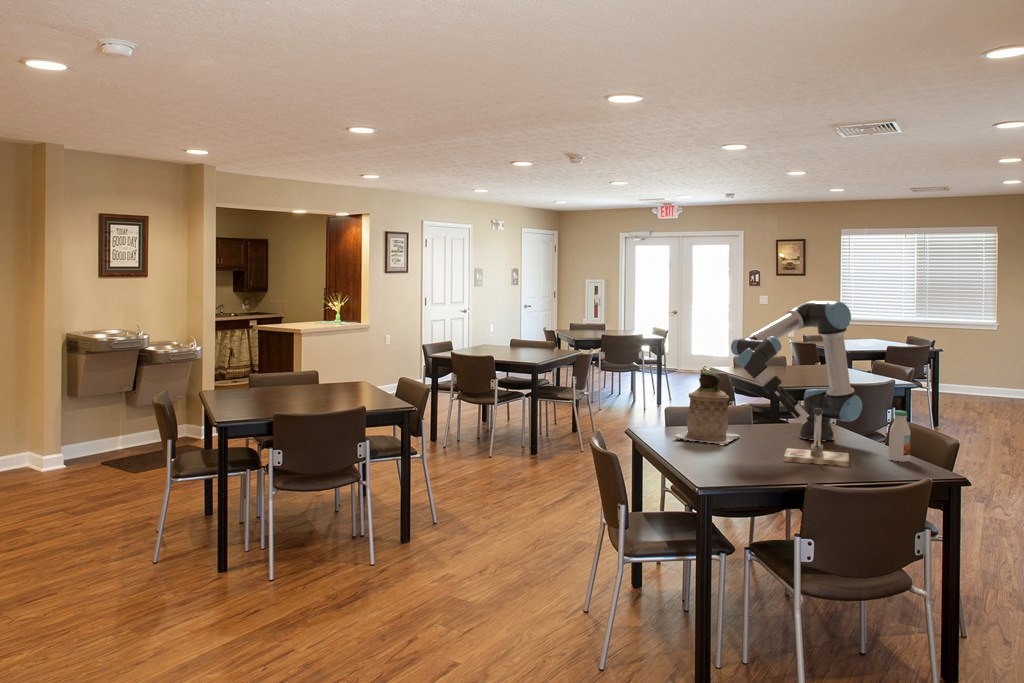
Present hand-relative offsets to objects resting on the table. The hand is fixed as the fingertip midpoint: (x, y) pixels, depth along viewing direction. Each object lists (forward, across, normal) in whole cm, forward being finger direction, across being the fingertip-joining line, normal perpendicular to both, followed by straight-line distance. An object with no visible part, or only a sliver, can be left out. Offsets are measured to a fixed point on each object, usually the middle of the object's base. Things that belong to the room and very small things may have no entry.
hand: (806, 420), depth 327 cm
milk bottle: (+36, -14, +14) cm, 41 cm away
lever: (+12, -1, -6) cm, 14 cm away
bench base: (+14, -1, -8) cm, 16 cm away
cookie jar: (-19, -27, -42) cm, 53 cm away
